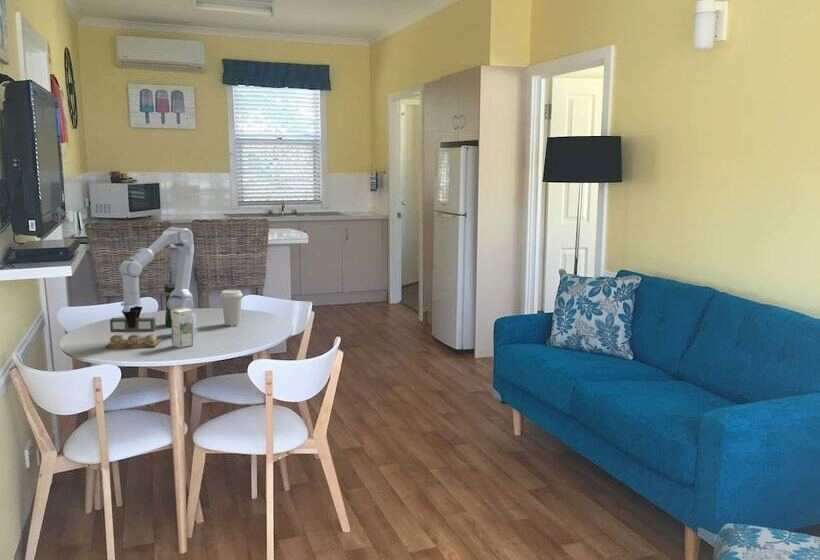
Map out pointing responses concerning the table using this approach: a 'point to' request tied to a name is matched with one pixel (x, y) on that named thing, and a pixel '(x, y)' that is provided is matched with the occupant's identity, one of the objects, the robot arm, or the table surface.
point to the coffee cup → (231, 306)
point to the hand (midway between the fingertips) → (133, 326)
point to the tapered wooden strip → (140, 325)
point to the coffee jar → (167, 291)
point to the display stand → (134, 341)
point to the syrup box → (182, 327)
